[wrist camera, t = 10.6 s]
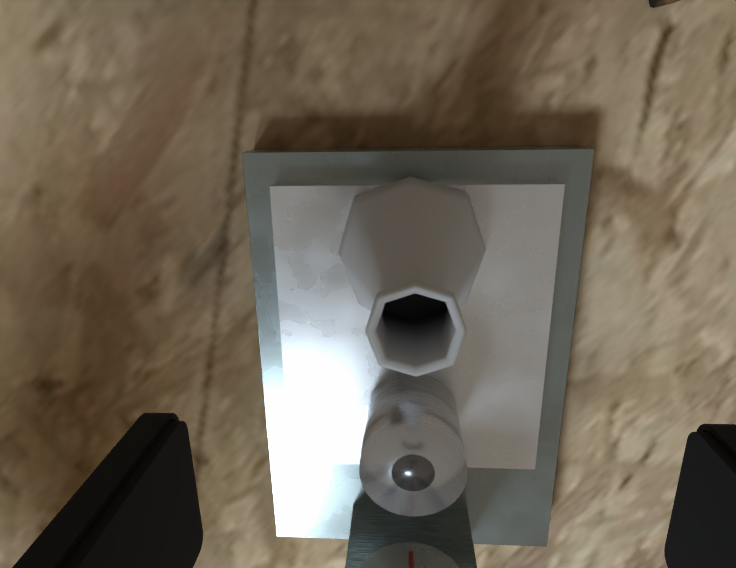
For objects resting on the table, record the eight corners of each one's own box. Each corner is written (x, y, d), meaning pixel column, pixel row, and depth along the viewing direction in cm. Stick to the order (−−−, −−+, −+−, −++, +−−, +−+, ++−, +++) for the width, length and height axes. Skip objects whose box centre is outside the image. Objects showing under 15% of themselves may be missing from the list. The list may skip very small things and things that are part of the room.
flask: (487, 172, 25) (540, 215, 15) (483, 316, 27) (526, 430, 17) (334, 178, 25) (292, 222, 16) (342, 318, 27) (311, 430, 18)
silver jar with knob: (367, 450, 30) (360, 515, 25) (365, 371, 28) (357, 426, 24) (455, 452, 30) (465, 519, 25) (458, 373, 28) (470, 428, 23)
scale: (283, 513, 36) (227, 704, 24) (253, 149, 28) (149, 180, 16) (538, 522, 34) (604, 726, 23) (580, 145, 27) (711, 176, 15)
